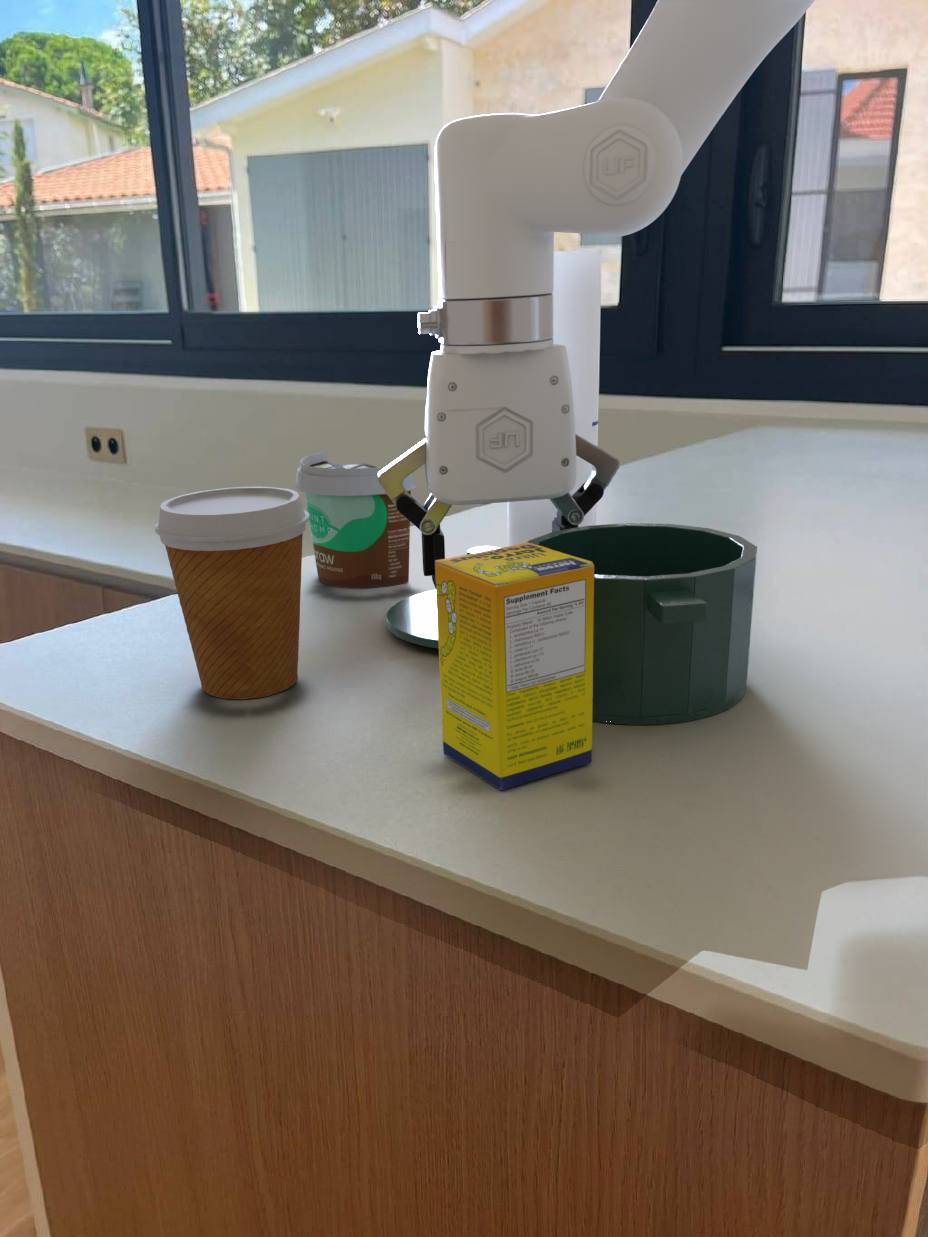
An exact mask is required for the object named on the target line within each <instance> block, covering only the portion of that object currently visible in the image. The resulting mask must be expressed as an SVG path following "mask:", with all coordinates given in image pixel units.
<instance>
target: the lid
mask: <svg viewBox="0 0 928 1237" xmlns="http://www.w3.org/2000/svg"><path fill="white" fill-rule="evenodd" d="M498 548H501V547H499V546H493V545H480V546H474V547H471V548H469V549H467V550H466V555H468V554H473V553H478V552H483V551H488V550H493V549H498ZM385 621H386V627H387V629H388V630H389V632H390V633H391V634H392V635H394V636H395V637H397V638H399V639H401V640H403V641H406V642H408V643H411V644H413V645H414V644H415V645H418V646H423V647H427V648H431V649H432V648H433V649H438V650H439V644H438V622H437V597H436V589H432V590H428V591H424V592H421V593H416V594H414V595H411V596H408V597H406V598H404V599H402V600H399V601H398V602H396V603H394V604H393V605H392V606H391V607H390V608H389V609H388V610H387V612H386V615H385Z"/></svg>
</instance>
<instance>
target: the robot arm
mask: <svg viewBox="0 0 928 1237" xmlns="http://www.w3.org/2000/svg"><path fill="white" fill-rule="evenodd" d="M814 2H815V0H657V1H656V3H655V5H654V7H653V9H652V10H651V12H650V14H649V16H648V18H647V19H646V21H645V23H644V25H643V27H642V29H641V30H640V32H639V34H638V35H637V37H636V38H635V39H634V42H633V44H632V45H631V47H630V49H629V50H628V52H627V54H626V55H625V57H624V58H623V60H622V61H621V63H620V64H619V66H618V68H617V70H616V71H615V73H614V75H613V76H612V78H611V80H610V81H609V83H608V84H607V86H606V87H605V88H604V90H603V92H602V93H601V95H600V96H599V98H598V100H596V101H595V102H590V103H587V104H583V105H578V106H574V107H570V108H566V109H561V110H557V111H549V112H546V113H540V114H530V113H518V112H517V113H516V112H515V113H514V112H511V113H510V112H509V113H508V112H507V113H505V112H504V113H490V114H489V113H488V114H479V115H472V116H468V117H463V118H458V119H455V120H453V121H450V122H449V123H447V124H445V125H444V126H443V127H442V128H441V130H440V131H439V133H438V135H437V137H436V141H435V145H434V184H435V213H436V214H435V215H436V216H435V217H436V241H437V242H436V244H437V245H436V246H437V272H438V299H439V300H437V306H434V309H431V310H430V309H429V310H428V312H418V313H417V328H418V334H419V335H428V334H429V335H430V336H434V337H435V338H436V339H438V343H440V349H439V350H435V351H432V352H431V354H430V360H429V364H428V365H429V366H428V371H427V372H428V373H427V383H426V384H427V385H426V397H425V407H424V409H425V410H424V438H423V439H422V440H421V441H419V442H417V444H415V445H414V446H412V447H411V448H409V449H408V450H407V451H405V452H404V453H403V454H401V455H400V456H399V457H397V458H395V459H394V460H393V461H391V462H390V463H389V464H387V465H386V466H384V467H385V468H383V469H382V470H381V471H380V472H379V473H378V481H379V483H380V485H381V486H382V488H383V489H384V491H385V492H386V493H387V495H388V496H389V498H390V499H391V501H392V502H393V503H394V505H395V506H396V507H397V509H398V511H399V512H400V513H401V514H403V515H404V516H405V517H406V518H407V519H408V520H409V521H410V523H412V524H413V526H415V527H416V528H417V529H418V530H419V531H420V533H421V551H422V552H421V554H422V571H423V576H424V577H430V576H431V581H432V583H433V586H434V588H435V589H436V577H435V561H436V560H441V559H446V550H445V549H446V546H445V545H446V544H445V541H446V540H445V535H444V533H443V530H442V528H441V523H442V521H443V520H444V519H445V517H446V516H447V514H448V512H449V511H450V509H451V508H452V506H453V505H454V506H467V505H482V504H483V505H484V504H498V503H499V504H500V503H507V502H516V501H530V500H543V499H550V500H551V502H552V503H553V505H554V506H555V507H556V509H557V510H558V511H557V517H554V520H553V521H552V532H555V531H560V530H566V529H572V528H578V525H579V524H580V523H581V522H582V521H583V519H584V516H585V515H586V514H587V513H588V512H589V511H590V510H591V509H592V507H593V506H594V505H595V504H596V503H597V504H598V502H600V500H601V499H602V498H603V497H604V494H605V490H606V489H607V487H609V485H610V484H611V482H612V481H613V479H614V477H615V476H616V474H617V472H618V471H619V469H620V467H621V461H620V459H619V458H617V457H616V456H615V455H613V454H611V453H609V452H607V451H606V450H604V449H602V448H600V447H599V446H598V447H597V446H596V445H594V444H592V443H590V442H589V441H587V440H585V439H584V438H582V437H580V436H578V435H577V434H575V419H574V405H573V393H572V383H571V375H570V368H569V361H568V356H567V351H566V347H565V346H564V345H558V344H553V294H552V293H553V292H554V252H555V251H554V250H555V248H554V247H555V233H569V234H582V235H590V236H596V237H601V238H620V237H624V236H628V235H631V234H634V233H637V232H639V231H641V230H644V228H646V227H648V226H649V225H651V224H652V223H653V222H655V221H656V220H657V219H658V218H659V217H660V216H661V215H662V214H663V213H664V212H665V210H667V208H668V207H669V205H670V203H671V202H672V201H673V198H674V197H675V194H676V193H677V191H678V188H679V184H680V181H681V177H682V175H683V174H684V172H685V171H686V169H687V168H688V166H689V164H690V163H691V162H692V160H693V159H694V157H695V156H696V154H697V153H698V152H699V149H700V148H701V147H702V145H703V144H704V142H705V141H706V140H707V138H708V137H709V135H710V134H711V132H712V131H713V129H714V128H715V127H716V125H717V124H718V123H719V120H720V119H721V118H722V116H723V115H724V114H725V112H726V111H727V109H728V108H729V107H730V105H731V104H732V103H733V101H734V99H735V98H736V96H737V95H738V94H739V92H740V91H741V90H742V88H743V87H744V85H745V84H746V83H747V81H748V80H749V79H750V78H751V76H752V75H753V73H754V72H755V70H757V68H758V67H759V66H760V64H761V63H762V62H763V60H765V58H766V57H767V56H768V55H769V53H771V51H772V50H773V49H774V48H775V47H776V46H777V45H778V44H779V42H780V41H781V40H783V38H784V37H785V36H786V35H787V34H788V33H789V32H790V31H791V30H792V28H794V26H795V25H796V24H797V23H798V22H799V21H800V20H801V19H802V17H803V16H804V15H805V13H806V12H807V11H808V9H809V8H810V7H811V6H812V5H813V3H814ZM576 456H578V457H580V458H582V459H583V460H585V461H587V462H588V463H590V464H591V465H592V472H591V474H590V477H589V478H588V480H587V481H586V482H585V483H584V484H583V485H582V486H581V487H580V488H579V489H578V490H577V491H576V492H575V493H574V494H573V495H572V496H571V495H570V493H569V492H570V491H571V490H572V489H573V487H574V485H575V481H576ZM567 459H568V460H567ZM423 465H424V472H425V480H426V484H427V487H428V489H429V491H430V493H429V496H428V497H427V499H426V501H425V502H424V503H423V504H420V503H419V502H418V501H417V500H416V499H415V498H414V497H413V496H412V495H411V496H410V495H409V494H408V492H407V491H406V489H405V488H404V486H403V480H404V479H405V478H406V477H407V476H408V475H410V474H411V473H414V472H416V471H417V470H418V469H419V468H421V467H422V466H423Z"/></svg>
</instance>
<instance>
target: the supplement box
mask: <svg viewBox="0 0 928 1237" xmlns="http://www.w3.org/2000/svg"><path fill="white" fill-rule="evenodd" d="M435 577H436V588H435V590H436V597H437V622H438V644H439V649H438V658H439V659H438V664H439V665H438V666H439V686H440V708H441V709H440V710H441V726H442V727H441V731H442V751H443V755H444V756H445V757H447V758H449V759H450V760H452V761H454V762H456V763H457V764H459V765H461V767H463V768H465V769H466V770H468V771H469V772H471V773H472V774H474V775H476V776H477V777H478V778H480V779H482V780H483V781H485V782H487V784H489V785H491V786H493V787H495V788H497V789H498V790H499V791H504V790H507V789H511V788H514V787H517V786H520V785H523V784H525V783H529V782H531V781H534V780H538V779H541V778H544V777H549V776H551V775H554V774H558V773H560V772H565V771H567V770H571V769H573V768H577V767H580V766H583V765H584V766H585V765H588V764H591V763H592V761H593V721H592V705H593V701H592V699H593V613H594V607H593V606H594V564H593V562H591V561H588V560H585V559H582V558H578V557H575V556H571V555H568V554H565V553H562V552H558V551H555V550H552V549H549V548H546V547H543V546H540V545H536V544H533V543H523V544H519V545H513V546H508V545H507V546H504V547H500V548H498V549H493V550H488V551H483V552H478V553H473V554H468V555H467V554H463V555H458V556H452V557H447V558H445V559H441V560H436V561H435Z"/></svg>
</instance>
